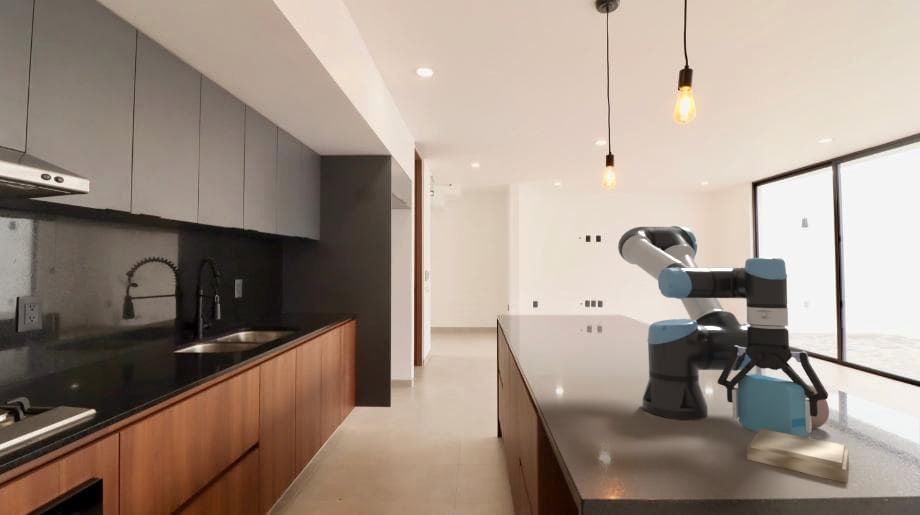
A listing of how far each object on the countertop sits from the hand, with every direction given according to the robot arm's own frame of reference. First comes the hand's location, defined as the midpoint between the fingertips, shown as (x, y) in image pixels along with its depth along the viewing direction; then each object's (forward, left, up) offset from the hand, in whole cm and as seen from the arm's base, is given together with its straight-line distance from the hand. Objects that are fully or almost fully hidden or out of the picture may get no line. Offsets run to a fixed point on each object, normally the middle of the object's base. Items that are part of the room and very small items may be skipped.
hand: (770, 424), depth 96 cm
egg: (+6, +11, -2) cm, 13 cm away
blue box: (0, 0, -2) cm, 2 cm away
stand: (+6, -14, -2) cm, 15 cm away
